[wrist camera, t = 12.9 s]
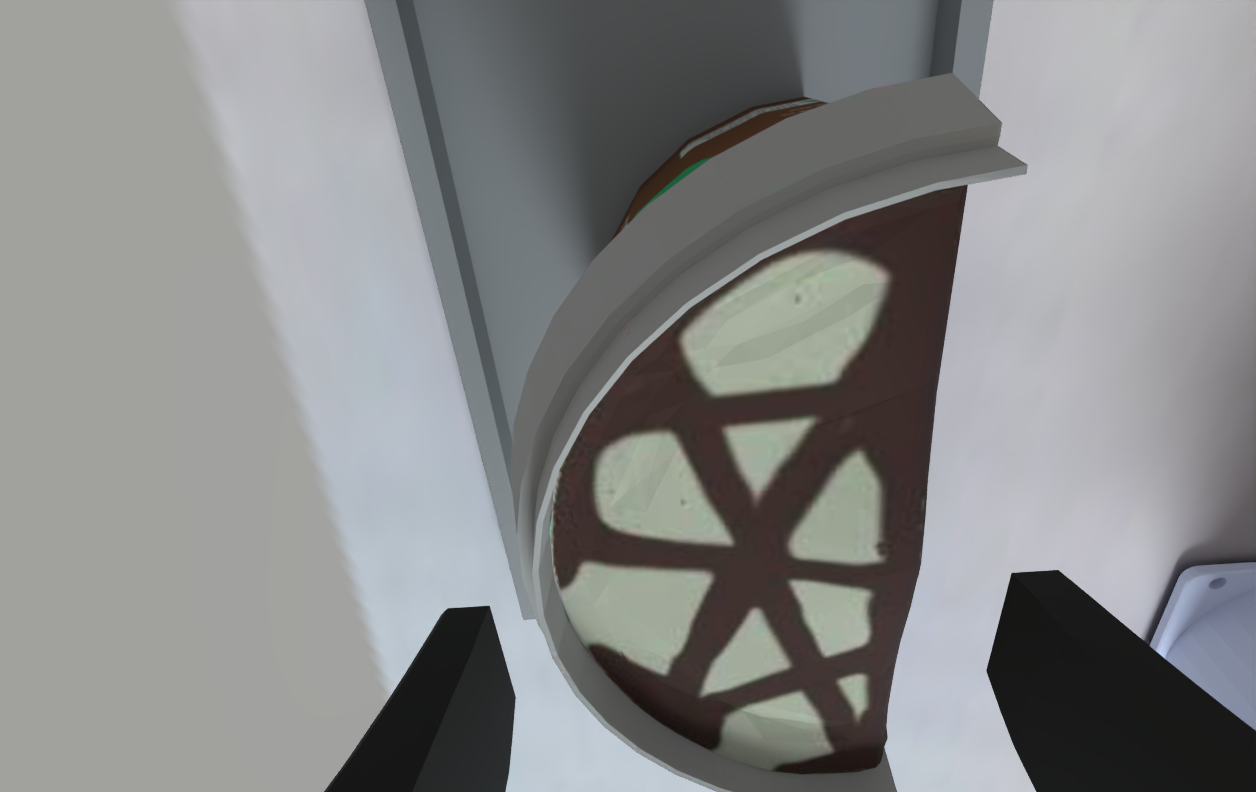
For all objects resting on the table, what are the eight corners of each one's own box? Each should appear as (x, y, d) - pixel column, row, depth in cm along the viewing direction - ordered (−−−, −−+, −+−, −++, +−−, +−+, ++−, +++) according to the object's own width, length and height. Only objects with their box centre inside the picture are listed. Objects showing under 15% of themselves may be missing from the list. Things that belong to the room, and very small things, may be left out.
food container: (516, 51, 15) (368, 171, 7) (806, 19, 15) (1041, 104, 6) (589, 497, 22) (561, 847, 13) (793, 482, 21) (900, 832, 13)
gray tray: (990, -238, 13) (1032, -261, 12) (888, 558, 23) (904, 595, 22) (352, -156, 14) (321, -169, 12) (529, 582, 24) (523, 619, 23)
